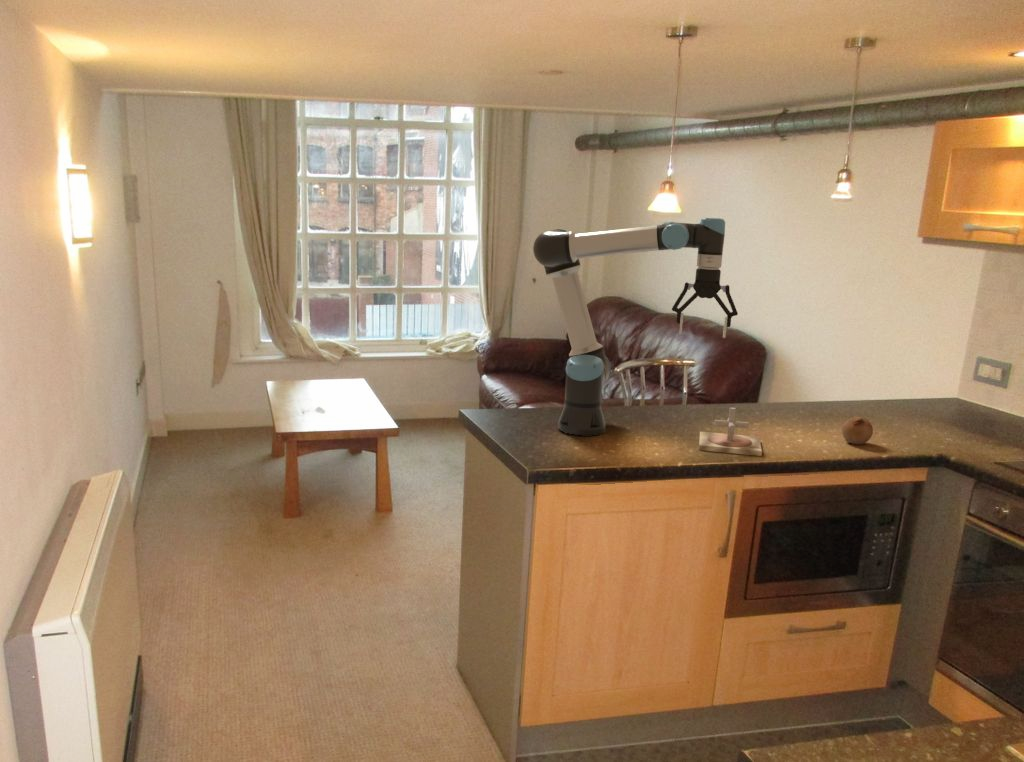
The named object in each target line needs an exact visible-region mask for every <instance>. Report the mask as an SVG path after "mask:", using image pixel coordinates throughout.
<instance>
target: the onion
mask: <svg viewBox="0 0 1024 762" xmlns="http://www.w3.org/2000/svg"><path fill="white" fill-rule="evenodd" d="M841 434H842V437H843V438H844V440H845V442H846V443H848V444H849V443H850V444H851V445H864V444H866V443H867V442H869V441H870V439H871V438H872V437H873V434H874V428H873V425H872V423H871V421H869V420H868V419H866V418H864V417H860V416H853V417H850V418H849V419H847V420H846V421H845V422H843V425H842V428H841Z"/></svg>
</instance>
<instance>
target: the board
mask: <svg viewBox="0 0 1024 762" xmlns="http://www.w3.org/2000/svg"><path fill="white" fill-rule="evenodd" d="M698 451H707V452H716V453H726V454H727V453H728V454H737V455H746V456H747V455H748V456H757V457H761V456H762V454H763V453H762V452H763V451H762V445H761V441H760V436H754V435H753V436H751V435H742V434H733V441H729V440H727V433H718V432H712V431H711V432H709V431H699V441H698Z"/></svg>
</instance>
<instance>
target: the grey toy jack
mask: <svg viewBox="0 0 1024 762" xmlns="http://www.w3.org/2000/svg"><path fill="white" fill-rule="evenodd" d="M736 409H737V408H736V407H729V412H728V418H727V420H724V419H714V423H713V424H714V425H713V426H718V427H727V433H726V434H727V440H729V441H733V435H735V434H734V432H735V430H736V428H741V429H743V428H744V429H749V426H750V425H749V422H748V421H739V420H738V421H736Z"/></svg>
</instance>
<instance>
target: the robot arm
mask: <svg viewBox="0 0 1024 762" xmlns="http://www.w3.org/2000/svg"><path fill="white" fill-rule="evenodd" d="M725 230H726V221H725V219H724V218H720V217H719V218H715V217H702V218H701V219H700V223H687V222H675V221H674V222H673V221H670V222H667V221H666V222H663V223H662V224H657V225H656V224H655V225H649V226H647V225H646V226H638V227H629V228H618V229H610V230H609V229H608V230H601V231H592V232H591V231H590V232H583V233H575V232H574V231H573V230H571V231H570V230H569V231H567V230H565V229H561V228H557V229H549V230H545V231H543V232H542V233H540V234H538V236H536V239H535V240H534V241H533V242H534V243H533V246H532V250H533V251H532V253H533V255H534V258H535V259H536V260H537V262H538V263H539V264H540V265H542V266H543V268H544V270H545V275H546V276H547V277H549V278H550V279H551V280H552V283H553V287H554V289H555V294H556V297H557V301H558V304H559V307H560V311H561V314H562V319H563V323H564V326H565V329H566V332H567V336H568V340H569V344H570V346H571V350H570V352H569V353H568V359H567V362H566V366H565V384H564V385H565V386H564V387H565V389H564V406H563V409H562V411H561V414H560V416H559V419H558V422H557V424H558V425H557V429H558V428H559V429H560V430H561V431H563V432H566V433H565V434H567V433H569V434H568V435H571V434H575V435H574V436H578V435H582V436H581V437H593V435H594V436H599V434H600V435H602V434H604V433H605V432H606V421H605V417H604V413H603V411H602V396H603V386H604V385H606V384H607V382H608V381H609V379H610V377H611V373H612V365H611V362H610V360H609V358H608V357H607V356H606V354H605V349H604V346H603V345H602V343H599V342H598V341H597V339H596V338H597V337H596V335H595V330H594V327H593V323H592V319H591V317H590V316H591V315H590V313H589V309H588V306H587V305H588V304H587V302H586V297H585V295H584V290H583V287H582V283H581V280H580V276H579V270H580V268H581V262H580V259H586V258H589V259H590V258H598V257H609V256H617V255H627V254H636V253H637V254H638V253H648V252H656V251H667V250H673V251H675V250H681V249H682V248H685V249H687V248H689V249H697V256H696V257H697V259H696V267H697V268H696V269H695V279H694V282H693V283H690V282H688V281H686V282H684V285H683V289H682V292H681V293H680V294H679V296H678V297H677V299H676V301H675V303H674V304H673V305H672V308H671V311H673V312H675V313H676V324H679V331H678V334H679V335H682V332H683V324H684V312H683V311H684V310H685V309H686V308H687V307H689V306H690V305H691V303H692V302H694V301H695V299H697V298H698V297H699V298H700V299H705V298H706V299H713V298H714V300H716V302H717V304H718V305H719V306H720V308H722V310H723V312H724V313H725V314H726V315H725V316H724V321H723V322H724V323H723V330H722V332H723V333H722V339H726V337H727V335H726V334H727V328H730V327H731V325H732V324H731V322H732V318H733V317H735V316H738V314H739V313H738V311H737V308H736V306H735V302H734V300H733V298H732V296H731V293H730V291H731V290H730V285H729V284H725V285H721V275H722V274H721V273H722V271H721V268H722V264H723V252H724V251H723V250H724V244H725V235H726V234H725V232H726V231H725ZM691 288H692V289H693V290H694V293H693V294H692V295H691V296H690V297H689V298H688V299H687V300H686V301H685V302H684V303H683V304H682V305H681V306H680V307H679V308H678V306H679V305H680V303H681V302H682V300H683V299H684V297H685V296H686V294H687V293H688V291H689V290H691ZM721 290H722V293H725V296H726V298H727V300H728V303H729V306H730V308H731V311H730V309H729V308H728V307H727V305H726V304H725V303H724V301H723V300H722V299H721V298H720V296H719V295H718V293H719V292H720V291H721ZM561 431H560V432H561ZM563 432H562V433H563Z"/></svg>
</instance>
